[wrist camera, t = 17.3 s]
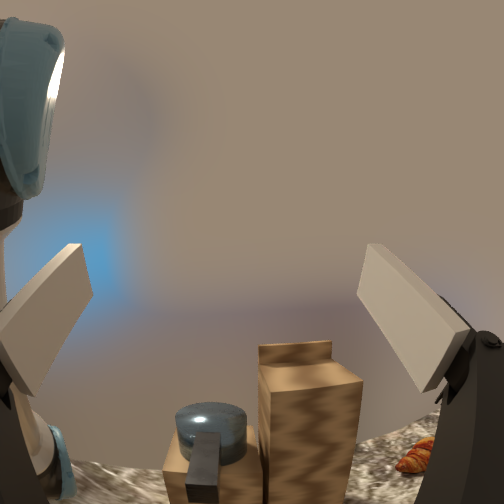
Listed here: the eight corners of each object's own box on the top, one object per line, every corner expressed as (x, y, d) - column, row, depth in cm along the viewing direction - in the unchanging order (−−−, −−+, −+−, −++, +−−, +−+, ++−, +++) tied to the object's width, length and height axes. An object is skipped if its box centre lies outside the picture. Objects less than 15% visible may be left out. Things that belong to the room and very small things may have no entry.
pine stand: (180, 539, 25) (147, 370, 28) (187, 493, 39) (169, 344, 42) (338, 527, 27) (368, 360, 31) (317, 485, 41) (329, 340, 45)
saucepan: (159, 514, 18) (148, 479, 19) (184, 431, 39) (181, 401, 39) (255, 519, 19) (255, 484, 19) (245, 432, 39) (245, 402, 40)
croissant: (449, 451, 44) (447, 424, 48) (475, 448, 36) (473, 419, 40) (385, 480, 41) (383, 450, 46) (411, 484, 33) (410, 451, 37)
